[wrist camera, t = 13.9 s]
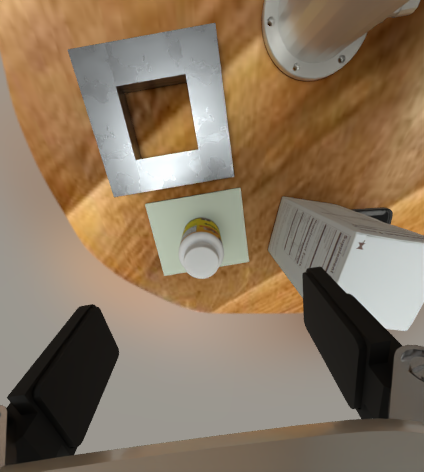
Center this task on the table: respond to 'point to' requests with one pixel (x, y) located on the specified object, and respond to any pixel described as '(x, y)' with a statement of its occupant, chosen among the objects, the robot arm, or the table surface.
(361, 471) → the robot arm
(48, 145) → the table surface
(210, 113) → the socket block
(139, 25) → the table surface
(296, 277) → the supplement box
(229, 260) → the sage mat
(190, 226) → the supplement bottle
